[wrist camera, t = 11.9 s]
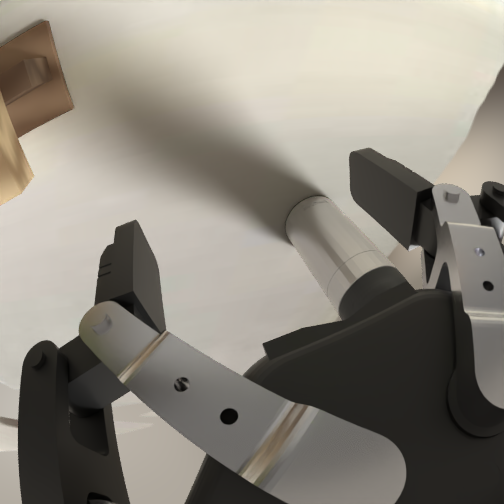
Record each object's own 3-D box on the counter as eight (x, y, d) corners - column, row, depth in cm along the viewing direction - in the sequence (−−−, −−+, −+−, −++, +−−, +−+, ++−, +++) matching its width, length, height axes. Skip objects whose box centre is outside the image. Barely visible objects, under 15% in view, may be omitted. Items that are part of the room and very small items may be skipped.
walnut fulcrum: (74, 107, 28) (54, 123, 22) (-2, 149, 27) (-30, 174, 21) (48, 21, 20) (23, 15, 14) (-29, 71, 19) (-64, 81, 13)
